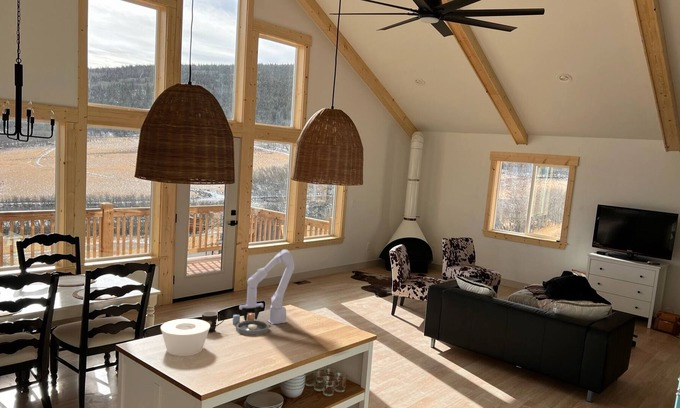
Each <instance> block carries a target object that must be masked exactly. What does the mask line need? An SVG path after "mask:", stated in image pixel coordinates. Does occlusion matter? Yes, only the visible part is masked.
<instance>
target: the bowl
mask: <svg viewBox="0 0 680 408" xmlns="http://www.w3.org/2000/svg"><path fill="white" fill-rule="evenodd" d="M209 328H210V324H209V323H208V322H206V321H203V320H202V319H198V318H177V319H172V320H169V321H166V322H164V323H162V324H161V325H160V331H161V334H162V338H163V342H164V345H165V348H166V351H168V352H167V353H168V354H170V355H172V356H178V357H188V356H187V355H189V356H193V355H197V354H199V353H200V352H202V350H203V348H204V345H205V342H206V339H207V337H208V334H209V333H208V331H209Z"/></svg>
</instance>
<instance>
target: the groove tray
mask: <svg viewBox="0 0 680 408" xmlns="http://www.w3.org/2000/svg"><path fill="white" fill-rule="evenodd" d="M269 329H270V326H269V324H268V323H267V322H265V321H261V320H255V319H254V320H249V321H245V320H244V321H240V323H238V324H237V325H235V331H236V332H237V333H238V334H240V335H244V336H251V337H252V336H262V335H265V334H266V333H268V332H269Z"/></svg>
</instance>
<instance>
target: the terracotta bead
mask: <svg viewBox="0 0 680 408" xmlns="http://www.w3.org/2000/svg"><path fill="white" fill-rule="evenodd" d="M249 320H254V321H255V312H248V313H247V321H249Z"/></svg>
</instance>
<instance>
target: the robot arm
mask: <svg viewBox="0 0 680 408" xmlns="http://www.w3.org/2000/svg"><path fill="white" fill-rule="evenodd" d="M282 263H284V265H285V269H284V270H283V273H282V276H281V278H280V281H279V285H278V286H277V289H276V291H275V292H274V294H273V295H272V296H271V297H270V302H271V305H270V306H269V307H270V308H269V309H270V310H269V319H267V320H266V321H267V322H268V323H270V324H271V325H278V324H279V325H280V324H284V323H287V309H286V307H285V306H283V299H284V296H285V292H286V291H287V288H288V285H289V282H290V279H291V278H292V275H293V273H294V271H295V267H296V266H295V261H294V257H293V256H292V253H291V252H290V250H288V249H287V248H286V249H284V248H283V249H282V250H281V251H279V252H278V253H277V254H276V255H275V256H274V257H273V258H272V259H271V260H270V261H269V262H268V263H267V264H266V265H265V266H264V267H261V268H257V270H256V272H255V273H253V274H252V275H250V277H249V278H248V279H247V281H246V282H247V283H246V284H247V290H246V303H244V304H240V305H239V306H238V309H239V310H241V313H242V314H243V319H244V321H247V315H248V313H249V311H248V310H249V309H254V320H255V321H258V318H259V314H260V312H261V311H262V308H264V303H262V302H260V303H257V299H258V298H257V293H258V289H257V287H258V285H259V283H261V282H262V281H263V280H264V279H265V278H266V277H267V276H268V272H269V271H271V270H272V269H273V267H275V266H276V265H277V264H282Z"/></svg>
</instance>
